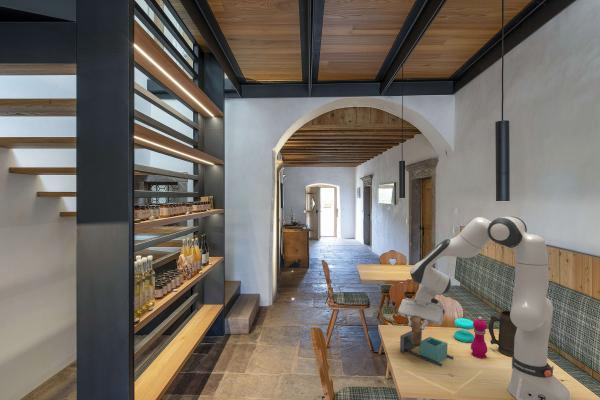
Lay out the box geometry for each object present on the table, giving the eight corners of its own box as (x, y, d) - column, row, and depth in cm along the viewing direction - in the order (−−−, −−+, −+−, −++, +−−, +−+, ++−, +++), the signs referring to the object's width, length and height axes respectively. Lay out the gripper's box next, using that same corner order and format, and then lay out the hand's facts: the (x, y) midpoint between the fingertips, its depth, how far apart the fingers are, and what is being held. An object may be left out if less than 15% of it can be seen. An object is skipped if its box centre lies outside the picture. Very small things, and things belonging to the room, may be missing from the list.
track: (455, 359, 168) (456, 340, 168) (438, 370, 158) (439, 350, 157) (417, 344, 183) (418, 327, 183) (399, 353, 173) (400, 335, 173)
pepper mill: (489, 361, 166) (490, 320, 165) (472, 360, 168) (474, 318, 167) (484, 354, 173) (485, 314, 172) (468, 353, 175) (470, 313, 174)
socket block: (446, 357, 168) (447, 343, 167) (437, 363, 162) (437, 348, 162) (429, 350, 174) (429, 336, 174) (419, 356, 169) (419, 341, 168)
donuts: (451, 317, 196) (469, 317, 195) (451, 334, 196) (469, 335, 196) (459, 324, 186) (478, 324, 185) (458, 342, 186) (477, 343, 186)
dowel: (422, 343, 162) (422, 317, 162) (417, 345, 160) (417, 319, 159) (414, 340, 165) (414, 314, 165) (409, 342, 163) (410, 316, 163)
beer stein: (517, 348, 181) (516, 309, 180) (529, 358, 170) (527, 317, 169) (486, 348, 182) (484, 310, 182) (495, 358, 172) (494, 317, 171)
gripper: (401, 293, 174) (392, 318, 167) (444, 302, 161) (436, 330, 154) (405, 300, 178) (396, 325, 170) (447, 309, 164) (439, 336, 157)
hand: (415, 327), depth 162 cm, fingers closed on dowel, 4 cm apart
